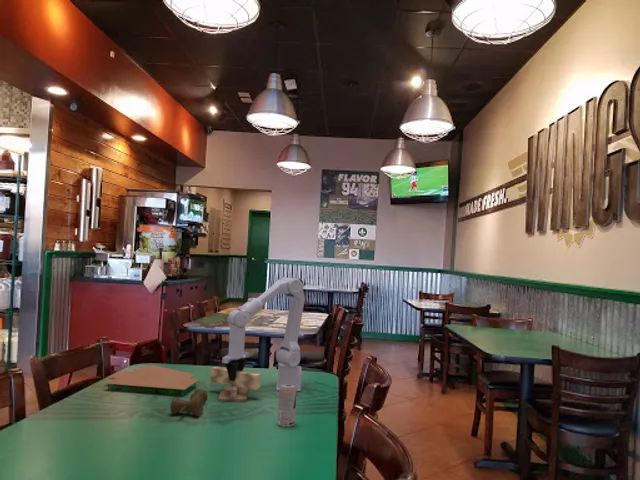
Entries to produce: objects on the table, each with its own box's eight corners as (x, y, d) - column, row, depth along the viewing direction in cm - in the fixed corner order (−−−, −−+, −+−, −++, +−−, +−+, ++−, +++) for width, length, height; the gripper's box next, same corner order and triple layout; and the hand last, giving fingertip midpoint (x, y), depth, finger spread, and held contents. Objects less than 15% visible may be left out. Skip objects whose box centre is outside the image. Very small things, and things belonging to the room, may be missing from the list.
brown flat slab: (128, 377, 202) (129, 357, 203) (205, 383, 199) (206, 362, 199) (97, 391, 180) (98, 369, 180) (184, 398, 176) (185, 375, 176)
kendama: (214, 405, 170) (194, 422, 151) (187, 404, 171) (164, 421, 151) (214, 387, 171) (195, 402, 151) (188, 386, 172) (165, 401, 152)
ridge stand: (248, 389, 190) (248, 379, 190) (246, 402, 174) (247, 390, 174) (222, 389, 189) (222, 378, 189) (218, 401, 173) (218, 390, 173)
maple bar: (210, 381, 184) (211, 368, 185) (215, 379, 187) (215, 366, 187) (255, 389, 176) (256, 375, 176) (259, 387, 179) (260, 374, 179)
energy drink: (295, 422, 155) (297, 384, 156) (293, 428, 150) (295, 388, 150) (279, 420, 156) (281, 382, 156) (276, 426, 150) (278, 387, 151)
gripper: (234, 346, 174) (232, 385, 173) (256, 341, 187) (254, 377, 187) (218, 344, 177) (216, 382, 176) (240, 339, 190) (238, 374, 190)
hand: (234, 379), depth 182 cm, fingers closed on maple bar, 3 cm apart
